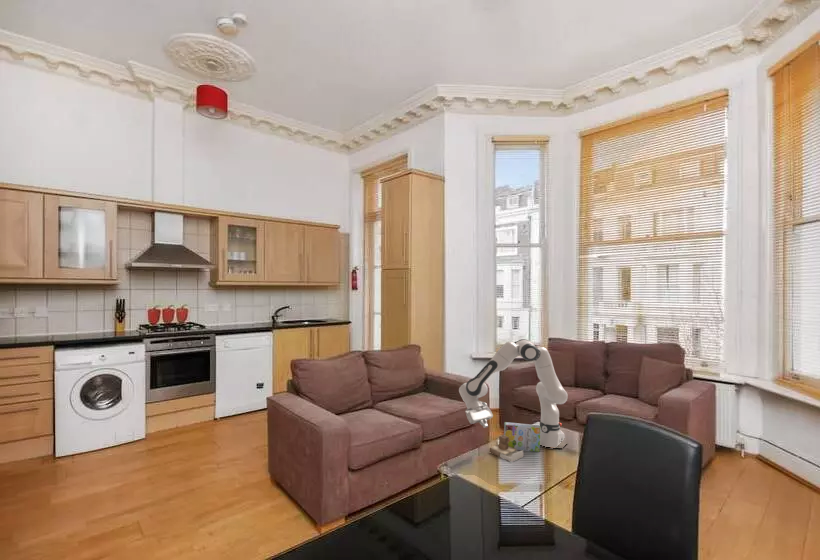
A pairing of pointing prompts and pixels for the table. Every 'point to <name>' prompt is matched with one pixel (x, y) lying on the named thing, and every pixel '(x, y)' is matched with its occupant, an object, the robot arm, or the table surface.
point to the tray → (512, 455)
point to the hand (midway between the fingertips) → (486, 427)
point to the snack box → (523, 436)
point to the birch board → (497, 450)
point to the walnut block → (503, 442)
